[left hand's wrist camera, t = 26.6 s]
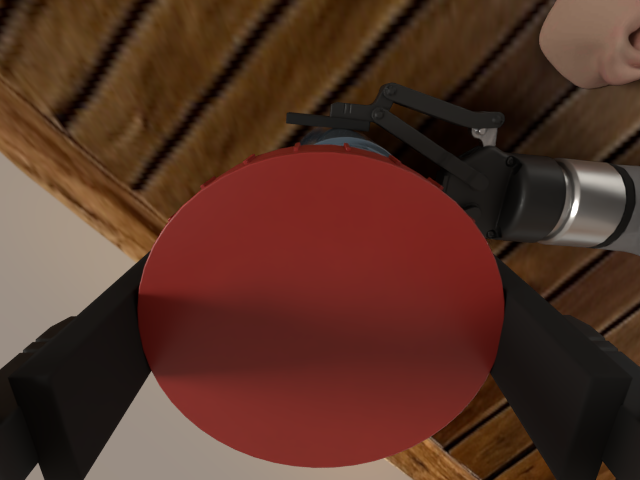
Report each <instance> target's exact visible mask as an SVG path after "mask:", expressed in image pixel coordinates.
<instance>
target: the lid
mask: <svg viewBox="0 0 640 480" xmlns="http://www.w3.org/2000/svg"><path fill="white" fill-rule="evenodd" d="M200 187H201V189H202V190H200V191H199V192H198V193H197V194H196V195H195V196H193V197H192V198H191V199H190V200H189V201H188V202H186V203H185V204H184V205H183V206H182V207H181V208H180V209H179V210H178V211H177V212H176V213H175V214H174V215H172V216H171V217H170V218H169V219H168V221H169V222H168V223H167V224H166V225H165V227H164V229H163V230H162V232H161V233H160V235H159V237H158V238H157V240H156V241H155V243H154V245H153V247H152V249H151V252H150V254H149V256H148V259H147V261H146V263H145V266H144V270H143V274H142V278H141V282H140V286H139V295H138V306H137V312H138V327H139V333H140V338H141V342H142V347H143V351H144V353H145V356H146V359H147V361H148V364H149V366H150V369H151V371H152V373H153V374H154V376H155V378H156V380H157V382H158V383H159V385H160V387H161V388H162V390H163V391H164V392H165V394H166V395H167V396H168V398H169V399H170V400H171V402H172V403H173V404H174V405H175V406H176V407H177V408H178V409H179V410H180V411H181V412H182V414H183V415H184V416H185V417H187V418H188V419H189V420H190V421H191V422H192V423H194V424H195V425H196V426H197V427H198V428H200V429H201V430H202V431H204V432H205V433H207V434H208V435H210V436H211V437H213V438H215V439H216V440H218V441H220V442H221V443H223V444H225V445H227V446H229V447H231V448H233V449H235V450H237V451H240V452H243V453H245V454H248V455H250V456H253V457H256V458H259V459H263V460H266V461H270V462H274V463H279V464H285V465H290V466H299V467H311V468H330V467H343V466H352V465H358V464H363V463H367V462H372V461H376V460H379V459H382V458H386V457H389V456H392V455H395V454H397V453H399V452H402V451H404V450H407V449H409V448H411V447H413V446H415V445H417V444H419V443H420V442H422V441H424V440H426V439H428V438H429V437H431V436H432V435H434V434H435V433H436V432H438V431H439V430H441V429H442V428H444V427H445V426H446V425H447V424H448V423H450V422H451V421H452V420H453V419H454V418H455V417H456V416H457V415H459V414H460V413H461V412H462V411H463V409H464V408H465V407H466V406H467V405H468V404H469V403H470V402H471V400H472V399H473V398H474V397H475V395H476V394H477V392H478V391H479V389H480V388H481V387H482V385H483V384H484V382H485V380H486V378H487V376H488V374H489V372H490V370H491V368H492V366H493V364H494V362H495V359H496V355H497V350H498V345H499V340H500V335H501V330H502V325H503V320H504V313H505V301H504V293H503V285H502V280H501V276H500V273H499V269H498V266H497V263H496V260H495V257H494V255H493V253H492V251H491V249H490V247H489V245H488V243H487V241H486V239H485V237H484V236H483V234H482V233H481V231H480V230H479V229H478V227H477V226H476V224H475V220H474V219H473V218H472V217H470V216H469V215H468V214H467V213H466V212H465V211H464V210H463V209H462V208H461V207H460V206H459V205H458V204H457V203H456V202H455V201H454V200H453V199H452V198H450V197H449V196H448V195H447V194H445V193H444V192H443V191H442V190H443V188H444V187H442V186H441V185H440V184H438V183H437V182H435V181H434V180H432V179H431V178H430V177H428V179H426V178H424V177H423V176H422V175H420V174H419V173H417V172H415V171H414V170H412V169H410V168H409V167H407V166H405V165H403V164H402V163H401V162H400V161H399V160H398V159H396V158H395V157H394V156H392V155H389V157H386V156H383V155H381V154H378V153H375V152H371V151H367V150H363V149H359V148H355V147H350V146H349V144H348V143H344V146H339V145H331V144H324V145H300V143H296V144H295V146H294V147H288V148H282V149H278V150H275V151H272V152H268V153H265V154H261V155H258V156H256V157H255V154H253V155H251V156H249V157H248V158H247V159H245V160H244V161H243V163H241V164H238V165H236V166H235V167H233V168H232V169H230V170H229V171H227V172H225V173H224V174H222V175H221V176H219V177H218V178H216V177H215V176H214V177H212V178H211V179H210V180H208V181H207V182H205V183H204V184H203V185H201V186H200Z"/></svg>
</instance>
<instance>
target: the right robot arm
mask: <svg viewBox="0 0 640 480" xmlns="http://www.w3.org/2000/svg"><path fill="white" fill-rule="evenodd" d="M393 103H395V104H398V105H401V106H404V107H406V108H409V109H412V110H415V111H418V112H420V113H423V114H426V115H429V116H432V117H434V118H437V119H440V120H443V121H446V122H448V123H451V124H454V125H458V126H463V127H468V134H469V136H471V137H474V138H476V139H477V140H478V142H479V145H478V146H476V147H474V148H473V149H471V150H469V151H467V152H465V153H464V154H462V155H460V156H458V157H456V156H454V155H453V154H451V153H449V152H448V151H446V150H444V149H443V148H442V147H440V146H439V145H437V144H436V143H434V142H433V141H431V140H430V139H428V138H427V137H426V136H424V135H423V134H421V133H420V132H418V131H417V130H415V129H414V128H412V127H411V126H409V125H408V124H407V123H405V122H404V121H402V120H401V119H399V118H398V117H396V116H395V115H393V114H392V113H390V112H389V110H390V108H391V106H392V104H393ZM504 121H505V117H504V115H503V114H502V113H500V112H487V111H481V112H473V111H470V110H467V109H465V108H462V107H459V106H456V105H454V104H451V103H448V102H445V101H443V100H440V99H437V98H434V97H432V96H429V95H426V94H423V93H421V92H418V91H415V90H412V89H410V88H407V87H404V86H401V85H399V84H396V83H388V84H385V85H383V86H381V88H380V89H379V93H378V95H377V97H376V99H375V101H374V102H373V103H372V104H370V105H358V104H349V103H339V102H337V103H333V104H331V108H330V116H322V115H312V114H302V113H292V112H289V113H287V119H286V123H289V124H299V125H309V126H319V127H329V128H338V129H348V130H358V131H368V132H369V126H370V122H374V123H376V124H377V125H379V126H380V127H382V128H383V129H385V130H386V131H388V132H389V133H391V134H392V135H394V136H395V137H397V138H398V139H400V140H401V141H402V142H404V143H405V144H407V145H408V146H410V147H411V148H413V149H414V150H416V151H417V152H419V153H420V154H422V155H423V156H425V157H426V158H428V159H429V160H430V161H432V162H433V163H435V164H436V165H438V166H439V167H441V169H440V171H437V175H436V182H437V183H438V184H440V185H441V186H442V187H444V188H443V190H442V191H443V192H444V193H445V194H447V195H448V196H449V197H450V198H452V199H453V200H454V201H455V202H456V203H457V204H458V205H459V206H460V207H461V208H462V209H463V210H464V211H465V212H466V213H467V214H468V215H469V216H470V217H472V218H473V219H474V220H475V224H476V226H477V227H478V229H479V230H480V231H481V233H482V234H483V236H484V237H485V239H486V238H487V239H495V240H506V241H517V242H528V243H534V242H538V243H541V244H547V245H561V246H575V247H586V248H597V249H606V250H616V251H625V252H629V253H633V254H636V255H639V256H640V166H628V165H616V164H611V163H604V162H594V161H585V160H575V159H566V158H554V159H552V158H550V157H546V156H536V155H526V154H516V153H506V152H503V151H501V150H500V149H499V148H497V147H496V146H495V143H496V135H497V128H499V127H501V126H502V125H503V123H504Z"/></svg>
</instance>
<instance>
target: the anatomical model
mask: <svg viewBox="0 0 640 480" xmlns="http://www.w3.org/2000/svg"><path fill="white" fill-rule="evenodd" d="M539 43H540V47H541V50H542V52H543V53H544V55H545V56H546V58H547V59H548V60H549V61H550V62H551V64H552V65H553V66H554V67H555V68H556V69H557V70H558V71H559V72H560V73H561V74H562V75H563V76H564V77H565V78H567V79H568V80H569V81H571V82H572V83H573V84H575V85H576V86H579V87H581V88H586V89H591V88H598V87H602V86H606V85H615V86H618V85H624V84H627V83H630V82H634V81H637V80H640V0H557V1H556V2H555V4H554V6H553V7H552V9H551V10H550V12H549V14H548V16H547V18H546V20H545V22H544V24H543V26H542V29H541V32H540V37H539Z"/></svg>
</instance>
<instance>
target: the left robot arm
mask: <svg viewBox="0 0 640 480" xmlns="http://www.w3.org/2000/svg"><path fill="white" fill-rule="evenodd" d="M150 252H151V251H150ZM150 252H148V253H147V254H146V255H145V256H144V257H143V258H142V259H141V260H139V261H138V262H137V263H136V264H135V265H134V266H133V267H132V268H130V269H129V270H128V271H127V272H126V273H125V274H124V275H123V276H121V277H120V278H119V279H118V280H117V281H116V282H115V283H114V284H112V285H111V286H110V287H109V288H108V289H107V290H106V291H104V292H103V293H102V294H101V295H100V296H99V297H98V298H97V299H95V300H94V301H93V302H92V303H91V304H90V305H89V306H88V307H87V308H85V309H84V310H83V311H82V312H81V313H80V314H79V315H77V316H71V317H69V318H67V319H65V320H63V321H61V322H59V323H57V324H55V325H54V326H52V327H50V328H49V329H48V330H47V331H45V332H44V333H43V334H42V335H41V336H39V337H38V338H37V339H36V342H32V343H31V344H30V345H29V346H28V347H26V348H25V349H24V350H23V353H19V354H18V355H17V356H16V357H14V358H13V359H12V360H11V361H10V362H9V363H7V364H6V365H5V366H4V367H3V368H1V369H0V480H25V479H26V477H27V476H28V475H29V474H30V472H31V471H32V470H33V468H34V467H35V466H36V464H37V463H39V466H40V469H41V471H42V474H43V477H44V480H84V478H85V477H86V475H87V473H88V472H89V470H90V469H91V467H92V465H93V464H94V462H95V461H96V459H97V457H98V456H99V454H100V453H101V451H102V449H103V448H104V446H105V444H106V443H107V441H108V440H109V438H110V436H111V435H112V433H113V432H114V430H115V428H116V427H117V425H118V424H119V422H120V420H121V419H122V417H123V416H124V414H125V412H126V411H127V409H128V408H129V406H130V404H131V403H132V401H133V400H134V398H135V396H136V395H137V393H138V392H139V390H140V388H141V387H142V385H143V384H144V382H145V380H146V379H147V377H148V375H149V374H150V372H151V369H150V366H149V364H148V361H147V359H146V356H145V353H144V351H143V347H142V342H141V338H140V333H139V327H138V312H137V306H138V295H139V286H140V282H141V278H142V274H143V270H144V266H145V263H146V261H147V259H148V256H149V254H150ZM493 255H494V254H493ZM494 257H495V260H496V263H497V266H498V269H499V273H500V276H501V280H502V285H503V293H504V301H505V313H504V320H503V325H502V330H501V335H500V340H499V345H498V350H497V355H496V359H495V362H494V364H493V366H492V368H491V370H490V374H491V375H492V377H493V378H494V380H495V382H496V383H497V385H498V386H499V388H500V390H501V391H502V393H503V394H504V396H505V398H506V399H507V401H508V402H509V404H510V406H511V407H512V409H513V410H514V412H515V414H516V415H517V417H518V418H519V420H520V422H521V423H522V425H523V426H524V428H525V430H526V431H527V433H528V434H529V436H530V438H531V439H532V441H533V443H534V444H535V446H536V447H537V449H538V451H539V452H540V454H541V455H542V457H543V459H544V460H545V462H546V463H547V465H548V467H549V468H550V470H551V471H552V473H553V475H554V476H555V478H556V479H557V480H596V478H597V475H598V472H599V469H600V467H601V464H602V461H603V462H604V463H605V465H606V466H607V467H608V468H609V470H610V471H611V472H612V474H613V475H614V476H615V477H616V479H615V480H640V367H639V366H638V365H636V364H635V363H634V362H633V361H632V360H630V359H629V358H628V357H627V356H626V355H625V354H623V353H622V352H618V349H617V348H616V347H615V346H614V345H613V344H611V343H610V342H609V341H605V338H604V337H603V336H602V335H601V334H599V333H598V332H597V331H596V330H595V329H593V328H592V327H591V326H590V325H588V324H586V323H584V322H582V321H580V320H578V319H576V318H574V317H572V316H571V315H562V314H561V313H559V312H558V311H557V310H556V309H555V308H554V307H553V306H552V305H550V304H549V303H548V302H547V301H546V300H545V299H544V298H543V297H541V296H540V295H539V294H538V293H537V292H536V291H535V290H534V289H532V288H531V287H530V286H529V285H528V284H527V283H526V282H524V281H523V280H522V279H521V278H520V277H519V276H518V275H517V274H515V273H514V272H513V271H512V270H511V269H510V268H509V267H508V266H506V265H505V264H504V263H503V262H502V261H501V260H500V259H499V258H497V257H496V256H495V255H494Z"/></svg>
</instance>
